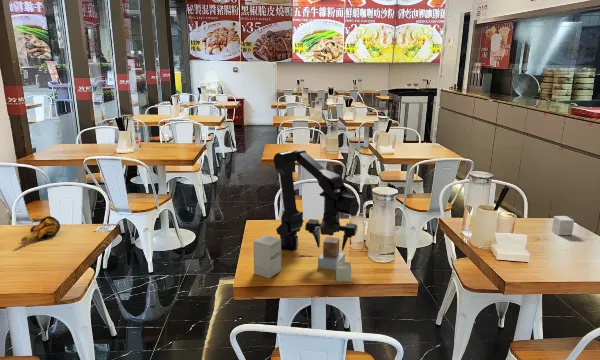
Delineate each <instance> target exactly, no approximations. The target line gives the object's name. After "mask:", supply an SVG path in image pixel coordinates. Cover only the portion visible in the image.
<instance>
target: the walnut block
mask: <svg viewBox="0 0 600 360" xmlns="http://www.w3.org/2000/svg"><path fill="white" fill-rule="evenodd" d="M322 250H323V251H322V253H323V257H330V258H337V256H338V254H339V252H340V238H339V237H330V236H326V237H325V238H324V240H323V244H322Z"/></svg>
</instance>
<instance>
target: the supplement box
mask: <svg viewBox="0 0 600 360" xmlns="http://www.w3.org/2000/svg"><path fill="white" fill-rule="evenodd" d="M281 271H282V249H281V239H280V237H279V238H278V237H276V236H275V237H273V236H271V235H270V236H269V235H267V234H266V235H265V234H264V235H263V236H262V237H260V238H258V239H255V240H253V273H254V274H255V275H258V276H261V277H263V278H267V279H271V278H272V277H273V276H274V275H275V276H276V275H277V274H278V273H279V272H281Z"/></svg>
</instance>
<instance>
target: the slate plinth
mask: <svg viewBox="0 0 600 360" xmlns="http://www.w3.org/2000/svg"><path fill="white" fill-rule="evenodd" d="M345 256H346V253H345V252H342V251H339V254H338V256H337V258H330V257H323V252H322V253H321V254H320V255H319V257H317V268H320V267H321V268H322V269H326V270H327V269H328V270H331V269H332V270H333V271H336V262H346V260H345V259H346V257H345Z"/></svg>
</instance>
